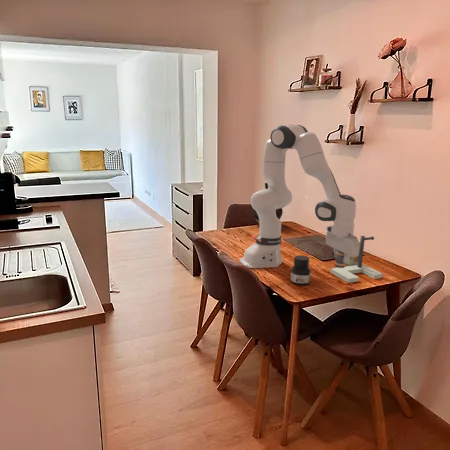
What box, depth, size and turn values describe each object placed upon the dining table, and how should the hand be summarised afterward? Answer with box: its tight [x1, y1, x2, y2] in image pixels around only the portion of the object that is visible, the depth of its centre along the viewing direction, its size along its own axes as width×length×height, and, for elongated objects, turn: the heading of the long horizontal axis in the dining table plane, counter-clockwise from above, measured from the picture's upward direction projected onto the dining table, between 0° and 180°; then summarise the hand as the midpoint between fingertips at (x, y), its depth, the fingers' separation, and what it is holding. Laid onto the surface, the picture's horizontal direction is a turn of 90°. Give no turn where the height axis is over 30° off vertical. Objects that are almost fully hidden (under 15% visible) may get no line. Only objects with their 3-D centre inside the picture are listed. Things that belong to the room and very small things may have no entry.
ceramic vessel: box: [252, 182, 284, 225], centre depth 289 cm, size 21×18×30 cm
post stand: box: [329, 235, 383, 283], centre depth 201 cm, size 22×14×18 cm, turn 111°
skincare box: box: [345, 241, 360, 266], centre depth 217 cm, size 6×4×12 cm
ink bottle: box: [290, 254, 312, 286], centre depth 191 cm, size 10×9×12 cm
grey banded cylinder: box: [334, 250, 346, 268], centre depth 190 cm, size 5×5×8 cm
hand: (340, 259), depth 191 cm, fingers closed on grey banded cylinder, 4 cm apart
